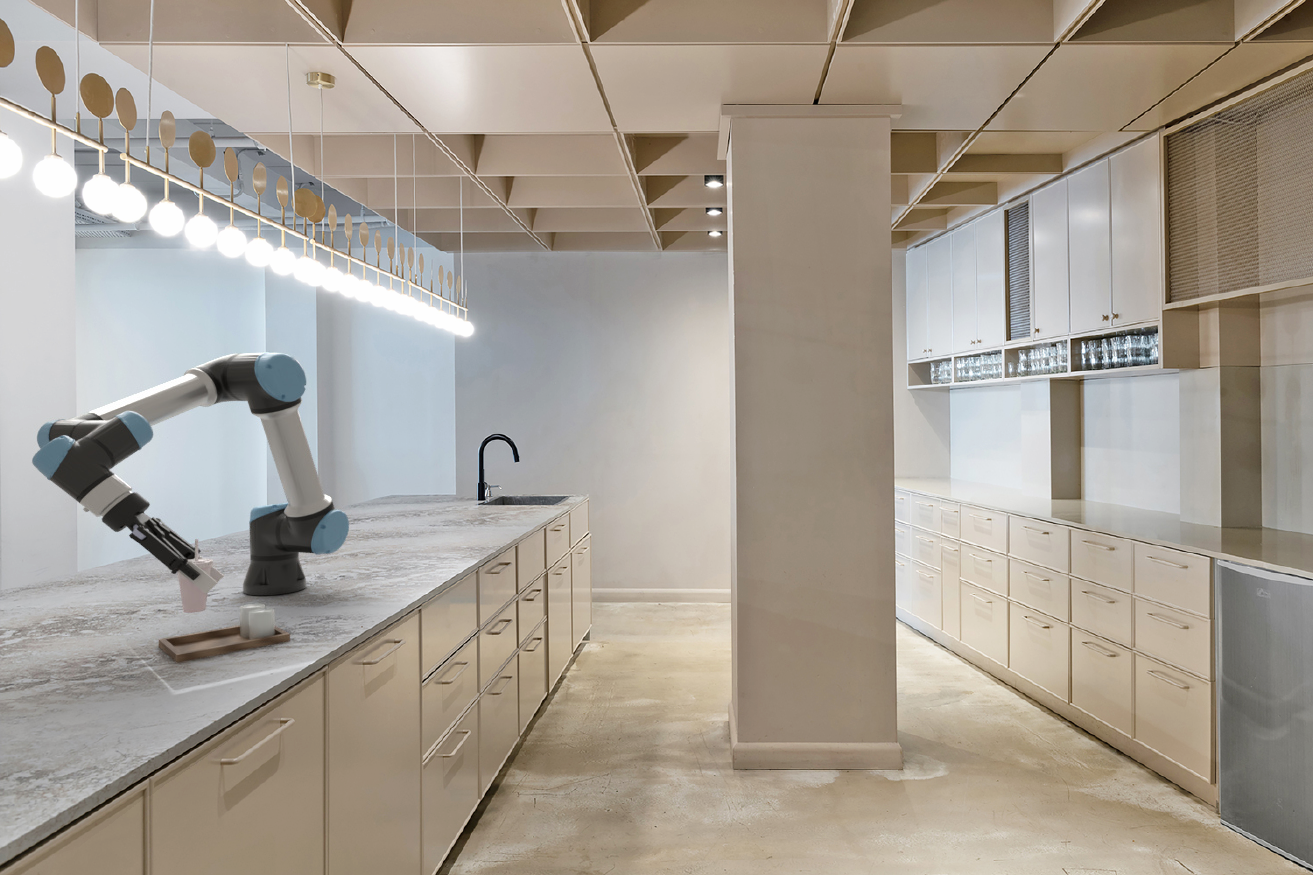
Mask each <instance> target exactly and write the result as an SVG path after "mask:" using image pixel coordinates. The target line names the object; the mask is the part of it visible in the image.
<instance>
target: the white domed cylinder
mask: <svg viewBox="0 0 1313 875" xmlns="http://www.w3.org/2000/svg"><path fill="white" fill-rule="evenodd" d="M275 624H276V623H275V609H274V608H271V607H270V608H268V607H267V608H266V607H265V608H264V609H256V610H252V611H250V612H249V640H253V639H258V638H263V637H269V636H274V635H275V626H276V625H275Z"/></svg>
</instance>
